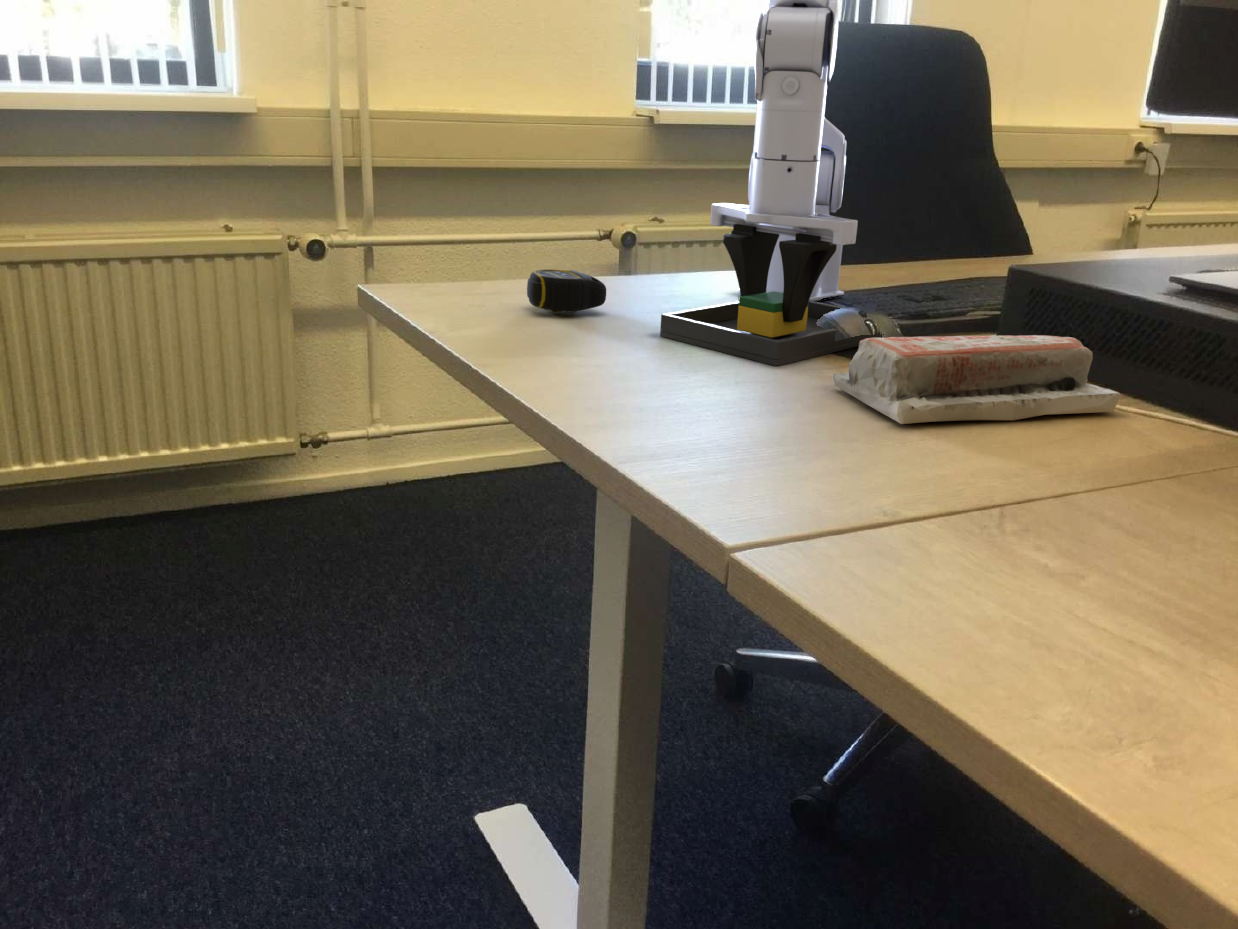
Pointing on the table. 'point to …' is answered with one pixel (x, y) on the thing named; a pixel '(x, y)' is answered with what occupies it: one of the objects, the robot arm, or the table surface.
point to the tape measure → (564, 290)
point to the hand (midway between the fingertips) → (772, 316)
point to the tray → (721, 334)
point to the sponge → (766, 315)
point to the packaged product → (974, 378)
